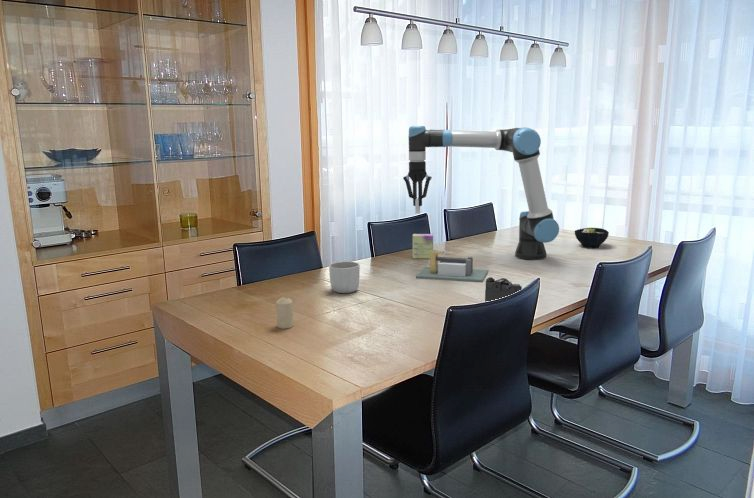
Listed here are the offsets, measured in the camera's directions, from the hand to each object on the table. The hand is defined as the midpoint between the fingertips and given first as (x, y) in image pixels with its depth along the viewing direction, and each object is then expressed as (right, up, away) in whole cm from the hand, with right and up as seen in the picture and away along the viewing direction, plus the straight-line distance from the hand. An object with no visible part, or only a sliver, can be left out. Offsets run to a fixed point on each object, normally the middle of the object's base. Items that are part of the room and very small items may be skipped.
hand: (417, 213), depth 267 cm
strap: (+15, -22, -8) cm, 28 cm away
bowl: (+96, -15, +46) cm, 107 cm away
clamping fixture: (+15, -28, -7) cm, 32 cm away
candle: (-50, -43, -68) cm, 95 cm away
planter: (-32, -34, -27) cm, 54 cm away
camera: (+30, -37, -50) cm, 69 cm away
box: (+5, -21, +30) cm, 37 cm away
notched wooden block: (+8, -27, -5) cm, 28 cm away
